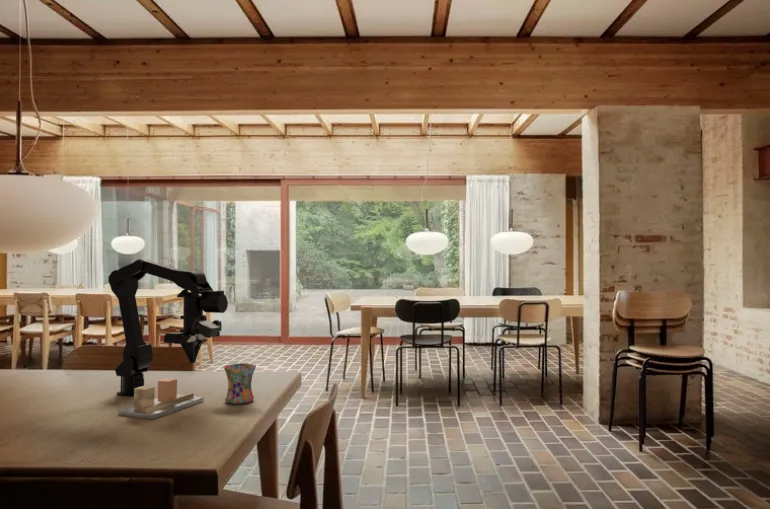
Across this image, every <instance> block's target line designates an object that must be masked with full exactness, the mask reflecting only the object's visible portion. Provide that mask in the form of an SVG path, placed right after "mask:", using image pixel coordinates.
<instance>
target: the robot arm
mask: <svg viewBox="0 0 770 509" xmlns="http://www.w3.org/2000/svg"><path fill="white" fill-rule="evenodd" d="M147 274H148V275H150V276H154V277H157V278H160V279H162V280H163V279H164V280H167V281H170V282H173V283H174V284H175V285H176V286H177V287H179V288H181V289H182V290H181V291H180V292H179V293H177V295H176V297H177V298H183V304H182V305H183V307H182V308H183V315H179V318H180V320H183V321H182V324H183V326H182V328H181V329H179V331H173V332H166V333H165V334H164V336H163V343H164V344H178V345H179V344H180V347H181V348H182V349H183V351H184V353H185V355H186V357H187V358H188V360H189V363H190V364H195V363H196V360H197V357H198V355H199V351H200V350H201V347H202V345H203V344H204V343H206V342H207V341H208V339H211V338H216V337H220V335H221V334H220V333H221V332H222V321H221V320H219V319H215V320H213V321H209V320H208V317H207V315H206V314H204V313H208V314H209V313H213V314H223V313H225V312H226V311H227V310H228V306H229V301H228V298H227V296H226V294H225V290H214V289H213V288H212V286H211V285H210V283H209V282H208V280H207V276H206V274H205V273H204V272H202V271H197V270H189V269H188V270H187V269H178V268H176V267H172V266H169V265H165V264H163V263H160V262H156V261H152V260H150V259H148V258H139V259H136V260H134V261H133V262H131V263H129V264H127V265H124V266H123V267H122V266H121V267H120V268H119V269H114V270H112V272H111V273H110V274H109V275H108V279H107V280H108V284H109V287H110V289H111V292H112V294H114V295H115V297H116V298H117V300H118V305H119V310H120V316H121V322H122V327H123V332H124V333H123V334H124V340H125V346H124V348H123V351H122V361H121V363H120V364H118V366H117V367H116V368H115V369H114V371H115V374H116V377H120V391H118V392H115V394H116V395H118V396H120V395H121V396H126V397H134V389H135V388H138V387H142V386H145V378H144V373H147V372H148V370H149V368H150V365H151V364H152V363H153V358H154V356H155V355H154V353H153V347H152V343H148V344H147V343H146V341H144V338H143V333H142V328H141V327H142V326H141V321H140V317H139V316H140V314H139V309H138V304H137V298H136V295H137V291H138V289H139V281H140V280H142V279H143V278H144V277H145V276H146V275H147Z"/></svg>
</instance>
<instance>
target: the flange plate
mask: <svg viewBox="0 0 770 509" xmlns="http://www.w3.org/2000/svg"><path fill="white" fill-rule="evenodd" d="M183 395H184V394H178V393H177V397H180V396H183ZM204 399H205V398H204V396H196V395H194V397H193V398H190V399H187V400H184V401H181V402H178V403H175V404H172V405H169V406H166V407H163V408H160V409H157V410H154V411H151V412H148V413H145V412H140V411H134V404H133V405H131V406H127V407H125V408H124V407H123V408H121V409H118V414H117V415H120V416H126V417H133V418H141V419H147V420H155V419H158V418H161V417H163V416H164V417H165V416H166V415H170V414H172V413H175V412H178V411H180V410H183V409H186V408H189V407H191V406H195V405H197V404H200V403H202V402H203V403H204ZM158 403H161V402H158V397H157V398H156V397H155V398H154V405H155V404H158Z"/></svg>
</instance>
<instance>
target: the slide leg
mask: <svg viewBox="0 0 770 509" xmlns="http://www.w3.org/2000/svg"><path fill="white" fill-rule="evenodd" d="M177 394H178V379H176V378H170V377H166V378H163V379H159V380H158V381H157V398H158V402H164V401H167V400H171V399H174V398H177Z"/></svg>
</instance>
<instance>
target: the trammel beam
mask: <svg viewBox="0 0 770 509" xmlns="http://www.w3.org/2000/svg"><path fill="white" fill-rule="evenodd" d="M155 388H156V387H155V386H149V385H144V386H142V387H138V388H135V389H134V396H133V405H134V411H140V412H145V413H148V412H151V411H154V410H157V409H160V408H163V407H166V406H169V405H172V404H175V403H178V402H181V401H184V400H187V399H190V398H193V397H194V396H195V394H194V392H189V393H186V394H182V395H183V396H180V397H177V398H174V399H171V400H167V401H164V402H161V403H158V404H155V405H154V399H155V398H156V396H155V393H156V391H155V390H156V389H155Z"/></svg>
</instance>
